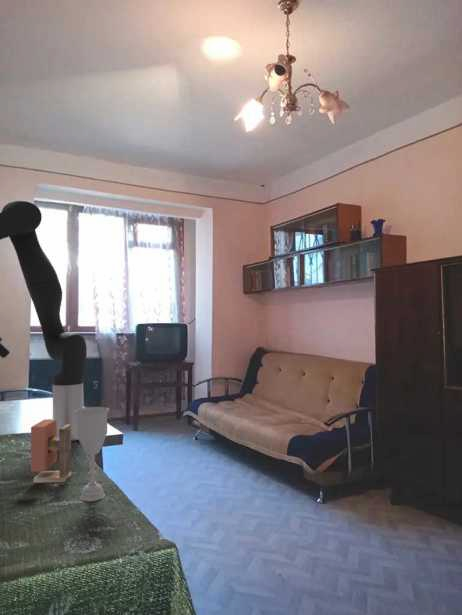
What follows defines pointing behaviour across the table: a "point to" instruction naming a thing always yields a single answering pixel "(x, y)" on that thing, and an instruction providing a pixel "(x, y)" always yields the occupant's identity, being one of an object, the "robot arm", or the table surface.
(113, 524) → the table surface
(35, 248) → the robot arm
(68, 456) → the pipe stand
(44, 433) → the pink block with hole
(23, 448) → the table surface
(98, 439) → the chalice
